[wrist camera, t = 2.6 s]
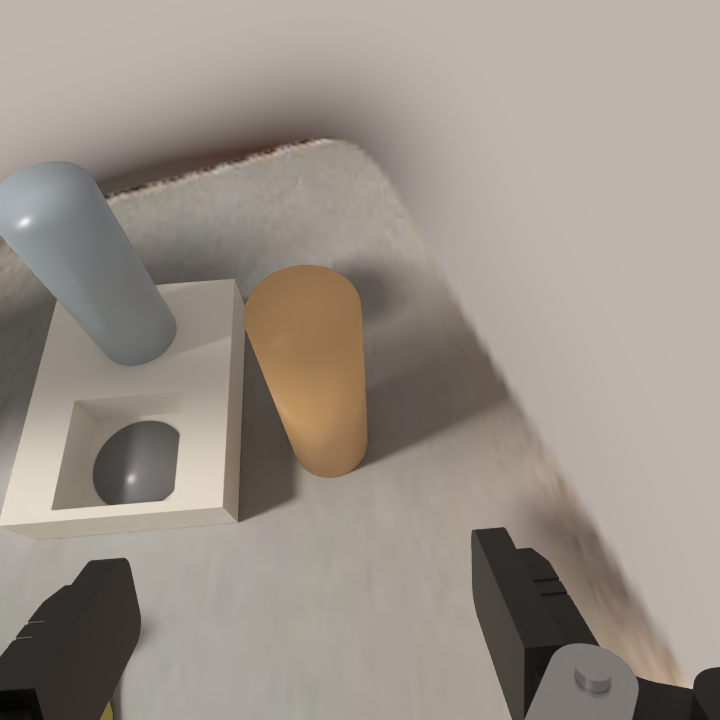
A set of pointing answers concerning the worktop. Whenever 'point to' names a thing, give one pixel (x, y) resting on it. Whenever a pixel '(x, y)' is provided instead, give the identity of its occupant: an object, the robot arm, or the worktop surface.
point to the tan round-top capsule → (313, 363)
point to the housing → (120, 376)
